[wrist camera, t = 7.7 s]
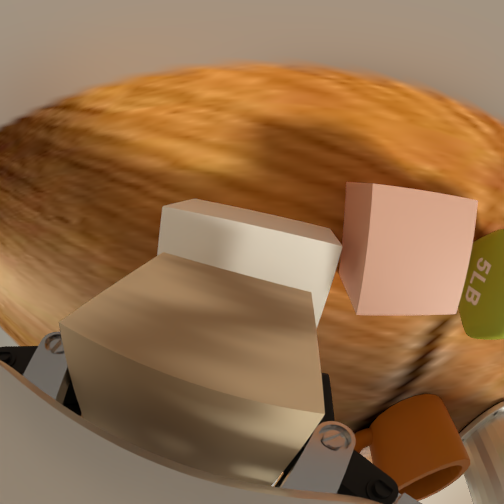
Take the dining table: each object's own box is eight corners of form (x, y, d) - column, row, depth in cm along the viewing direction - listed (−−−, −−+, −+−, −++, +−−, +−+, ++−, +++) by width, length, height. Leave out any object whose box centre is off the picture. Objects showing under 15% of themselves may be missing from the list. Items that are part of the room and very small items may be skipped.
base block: (329, 227, 17) (342, 246, 12) (294, 343, 20) (293, 387, 15) (195, 198, 18) (162, 205, 13) (181, 314, 20) (153, 349, 16)
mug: (359, 391, 20) (378, 474, 11) (456, 390, 19) (489, 448, 10) (326, 447, 22) (329, 515, 14) (416, 443, 21) (434, 498, 13)
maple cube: (311, 292, 10) (324, 413, 4) (270, 397, 12) (254, 504, 6) (163, 252, 11) (58, 322, 5) (155, 362, 12) (95, 447, 7)
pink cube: (427, 191, 15) (477, 200, 9) (416, 276, 17) (455, 313, 11) (346, 181, 16) (372, 183, 10) (338, 272, 18) (356, 314, 12)
